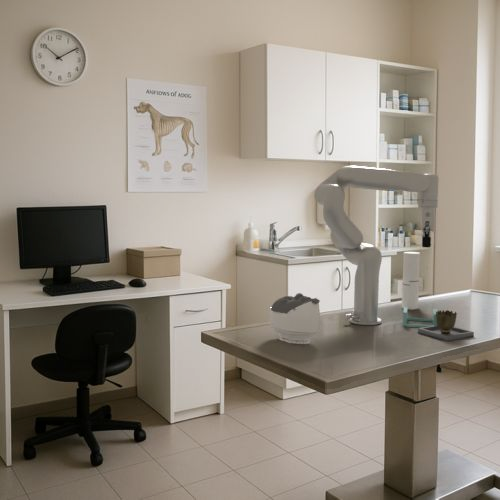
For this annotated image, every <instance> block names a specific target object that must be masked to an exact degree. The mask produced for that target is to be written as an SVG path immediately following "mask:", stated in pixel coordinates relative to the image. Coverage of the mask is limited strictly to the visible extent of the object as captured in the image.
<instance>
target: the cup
mask: <svg viewBox="0 0 500 500" xmlns="http://www.w3.org/2000/svg"><path fill="white" fill-rule="evenodd" d="M457 314H458V312H457V311H455V312H454V313H453V311H452V310H451V311H450V310H444V309H443V310H437V311H436V320H437V325H438V327H439V328H441V330H440V331H441V333H444V334H449V333H450V332H451V330H450V329H452V328H453V327H455V325H456V319H457V316H458V315H457Z"/></svg>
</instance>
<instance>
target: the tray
mask: <svg viewBox="0 0 500 500" xmlns="http://www.w3.org/2000/svg"><path fill="white" fill-rule="evenodd" d="M440 330H441V328H439V327H438V325H435V326H433V325H432V326H429V327H423V328H420V327H417V333H418V334H422V335H423V336H428V337H430V338H434V339H437V340H440V341H444V342H450V341H457V340H463V339H467V338H473V337H474V335H475V332H474V331H473V330H468V329H465V328H461V327H457V326H454V327H453V328H452V329H450V330H451V332H450V333H449V334H444V333H441V331H440Z"/></svg>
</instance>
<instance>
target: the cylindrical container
mask: <svg viewBox="0 0 500 500" xmlns="http://www.w3.org/2000/svg"><path fill="white" fill-rule="evenodd" d="M402 259H403V260H402V287H401V308H402V309H404V307H408V310H417V309H419V291H420V288H419V287H420V270H421V269H420V265H421V264H420V263H421V252H418V251H404V252H403V258H402Z"/></svg>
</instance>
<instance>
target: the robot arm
mask: <svg viewBox="0 0 500 500" xmlns="http://www.w3.org/2000/svg"><path fill="white" fill-rule="evenodd" d="M348 188H353V189H362V190H363V189H364V190H375V191H388V192H389V191H404V192H407V193H418V201H417V202H418V203H417V205H418V206H417V208H419V209H420V212H421V213H420V229H421V232H422V236H421V237H422V238H421V239H422V241H421V246H422V248H431V247H432V246H431V245H432V243H431V240H432V238H431V232H432V233H434V232H435V220H436V219H435V212H436V211H435V209H438V201H439V199H438V197H439V175H438V174H436V173H424V172H412V171H405V170H403V171H402V170H394V169H389V168H387V169H386V168H378V167H377V168H376V167H368V166H358V165H346V166H342V167H339V169H337V170H335V171H334V172H333V173H332V174H330V176H328V177H327V178H326V179H325V180H323V181H322V182H321V183H320V184H319V185H318V186H317V187H316V188H315V190H314V195H313V196H314V199H315V201H316V202H317V203H318V204H319V205H322V215H323V216H322V217H323V220H324V222H325V224H326V226H327V227H328V228H329V230H330V240H331V243H332V244H333V245H334V247H335V248H336V249H337V250H338V252H339V253H341V255H342V256H343V257H344V258H345V259H346V260H347V261H348V262H349V263H351V264H352V265H355V266H357V267H356V271H355V274H354V289H353V290H354V291H353V292H354V293H353V295H354V296H353V300H354V301H353V310H351V312H350V313H345V314H344V319H345V320H349V322H350V323H352V324H353V325H354V324H355V325H360V326H361V325H362V326H375V325H376V326H377V325H380V324H381V323H382V318H379V317H378V315H379V290H380V288H379V286H380V285H379V283H380V280H379V278H380V270H381V264H382V259H383V256H382V252H381V250H380V249H379V248H378V247H377V246H376V245H373V244H370V243H366V242H364V236H363V233H362V231H361V230H360V229H359V227H358V226H357V225H356V224H355V223H354V222H353V220H352V219H351V218H350V217H349V216H348V215H347V213H346V211H345V207H344V206H345V202H346V201H345V199H346V192H345V190H346V189H348Z"/></svg>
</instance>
